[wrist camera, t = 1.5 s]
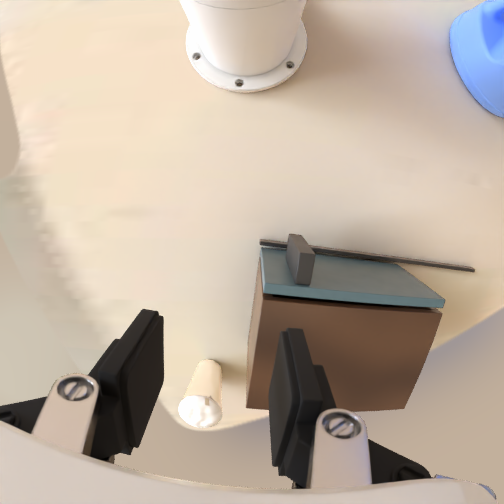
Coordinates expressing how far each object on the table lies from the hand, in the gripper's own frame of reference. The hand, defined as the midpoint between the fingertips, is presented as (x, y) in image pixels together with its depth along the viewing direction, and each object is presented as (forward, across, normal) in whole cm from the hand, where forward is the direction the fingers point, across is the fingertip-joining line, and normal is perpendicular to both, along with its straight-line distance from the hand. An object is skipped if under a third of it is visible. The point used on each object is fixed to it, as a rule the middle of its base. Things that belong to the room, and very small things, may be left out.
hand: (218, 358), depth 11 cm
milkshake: (+24, +2, +17) cm, 29 cm away
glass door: (+23, -10, 0) cm, 25 cm away
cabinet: (+23, -16, +7) cm, 29 cm away
